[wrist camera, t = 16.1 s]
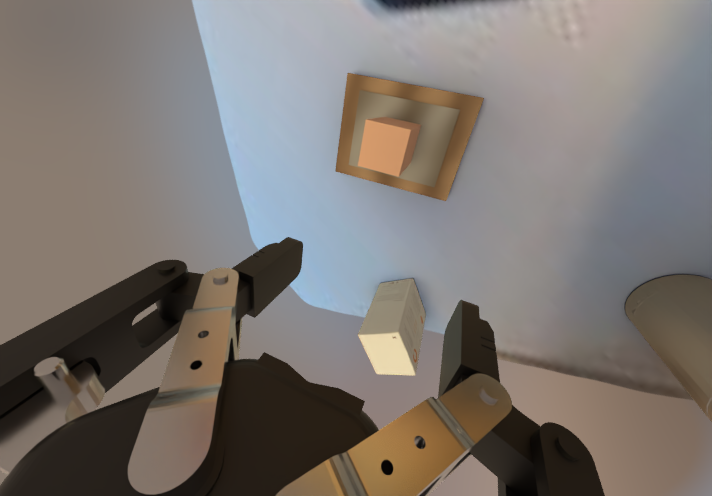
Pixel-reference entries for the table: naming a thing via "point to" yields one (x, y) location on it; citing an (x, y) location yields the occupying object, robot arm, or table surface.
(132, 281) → the robot arm
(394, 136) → the terracotta block
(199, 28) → the table surface
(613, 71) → the table surface
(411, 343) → the small box
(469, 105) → the walnut plinth
